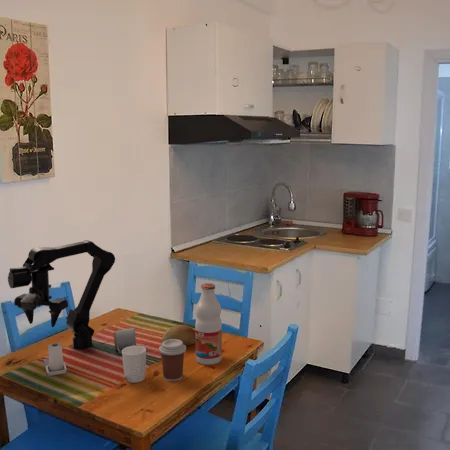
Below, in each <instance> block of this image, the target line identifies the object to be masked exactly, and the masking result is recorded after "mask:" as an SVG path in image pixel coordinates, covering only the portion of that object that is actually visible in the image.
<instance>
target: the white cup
mask: <svg viewBox="0 0 450 450" xmlns="http://www.w3.org/2000/svg"><path fill="white" fill-rule="evenodd" d="M121 351H122V354H121V356H122V357H121V358H122V368H123V373H124V380H125V381H126V382H127V383H132V384H133V383H134V384H135V383H140V382H143V381H144V380H145V379H146V369H147V348H146V347H145V346H142V345H136V346H129V347H126V348H124V349H123V350H121Z"/></svg>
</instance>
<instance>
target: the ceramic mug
mask: <svg viewBox="0 0 450 450" xmlns="http://www.w3.org/2000/svg"><path fill="white" fill-rule="evenodd" d="M135 329H136V328H135V327H131V328H126V329H125V328H124V329H119V330H115V331H114V332H113V340H114V341H113V343H114V349H115V350H116V351H117V352H118V353H119V354H120V355H122V350H123V349H124V348H126V347H129V346H137V339H136V338H137V337H136V330H135Z"/></svg>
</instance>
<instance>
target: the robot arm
mask: <svg viewBox="0 0 450 450" xmlns="http://www.w3.org/2000/svg"><path fill="white" fill-rule="evenodd" d="M85 253H87V254H89V256H91V258H92V263H91V264H92V265H91V266H92V267H91V269H92V270H91V274H90V275H89V278H88V281H87V282H86V285H85V288H84V290H83V292H82V295H81V297H80V300H79V301H78V305H77V306H76V307H75V308H74V309H71V308H70V309H69V311H68V314H67V317H66V318H65V320H66V323H65V324H66V326H67V329H69V330H71V332H72V333H73V337H72V338H71V339H72V349H73V350H74V349H75V350H76V349H78V350H84V349H85V350H86V349H88V348H89V349H90V347H93V337H94V334H95V329H93V328H92V327H91V326H89V323H90V319H91V318H90V313H91V312H90V311H91V308H92V307H93V303H94V301H95V299H96V296H97V294H98V292H99V289H100V286H101V285H102V281H103V280H104V277H105V275H106V274H107V273H109V272H110V270H111V269H112V267H113V265H115V262H116V257H115V254H113V253H112V251H111V252H110V251H108V250H105V249H103V248H101V247H100V246H99V245H96V244H95V242H93V241H91V240H88V239H86V240H85V239H84V240H83V241H78V242H73V243H68V244H65V245H59V246H54V247H52V246H51V247H49V246H48V247H47V246H41V247H40V246H37V247H36V246H35V247H33V248H31V249H30V251H29V252H28V255H27V256H28V257H27V258H26V260H25V261H24V262H23V264H22V266H21V267H10V268H9V272H8V276H7V282H8V287H9V288H10V289H16V288H22V287H27V286H29V285H31V286H29V289H28V293H23V294H20V295H18V296H16V297H15V298H14V303H13V304H14V306H17V308H18V309H21V310H22V311H23V312H24V314H25V316H26V318H27V321H28V323H29V324H30V325H32V324H33V322H34V311H35V310H36V308H40V307H41V306H46V307H48V308H49V310H48V313H50V324H51V325H50V326H51V328H54V327H55V325H56V324H57V321H58V319H59V317H60V314H61V313H62V311H63V310H65V309H66V308H68V307H69V302H68V300H67V299H64V298H59V297H58V298H56V299H53V298H52V297H53V296H52V295H50V289H51V288H52V284H50V283H49V282H50V279H49V272H50V271H54V270H55V267H53V266H52V264H51V263H54V262H55V261H56V260H59V259H63V258H68V257H72V256H76V255H81V254H85ZM51 299H53V300H51Z"/></svg>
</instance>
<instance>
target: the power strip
mask: <svg viewBox="0 0 450 450" xmlns="http://www.w3.org/2000/svg"><path fill="white" fill-rule="evenodd" d="M62 358H63V356H62ZM43 365H44V369H45V372H46V377H53V376H58V375H64V374H68V369H67V367H66V363H65V361H64V358H63V370H60V371H54V372H50V370H49V358H43Z"/></svg>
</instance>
